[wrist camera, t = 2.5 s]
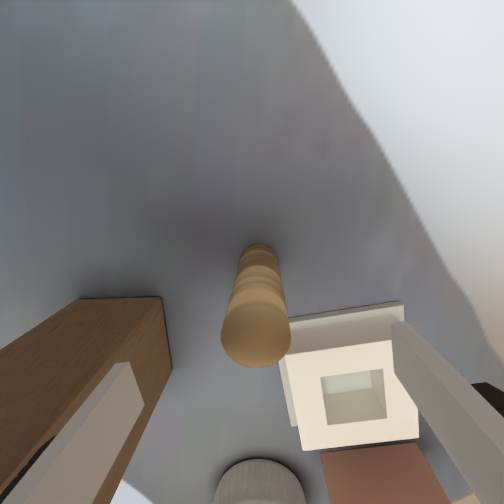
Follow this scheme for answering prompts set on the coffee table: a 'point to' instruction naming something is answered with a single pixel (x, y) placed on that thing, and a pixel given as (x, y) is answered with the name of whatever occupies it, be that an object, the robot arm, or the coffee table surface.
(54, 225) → the coffee table surface
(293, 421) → the socket
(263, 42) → the coffee table surface
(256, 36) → the coffee table surface
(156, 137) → the coffee table surface
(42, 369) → the wooden block
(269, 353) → the peg
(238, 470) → the ramekin
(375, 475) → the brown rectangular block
